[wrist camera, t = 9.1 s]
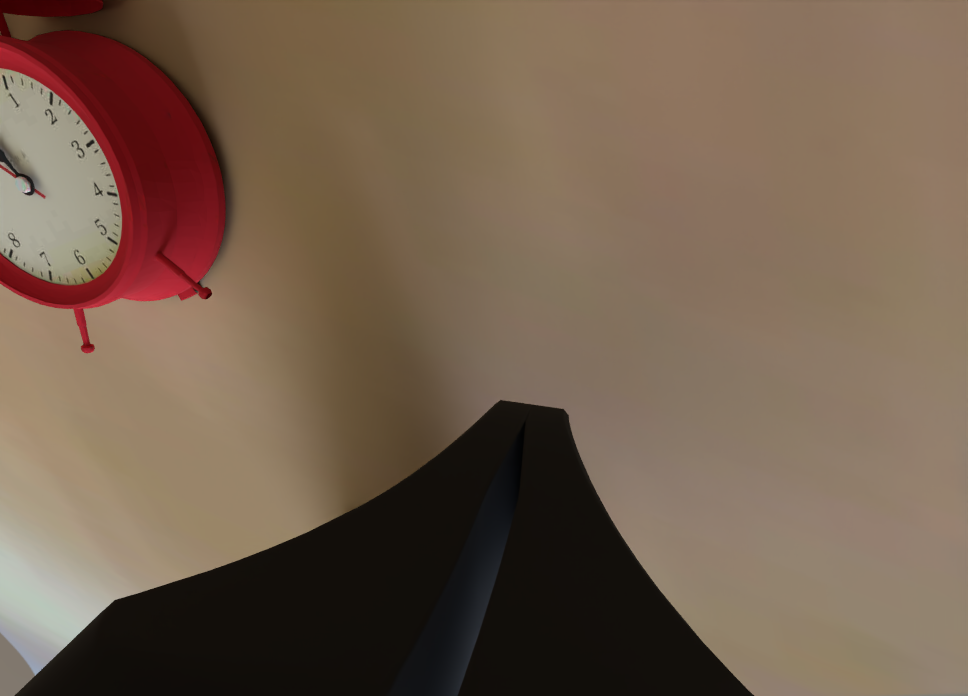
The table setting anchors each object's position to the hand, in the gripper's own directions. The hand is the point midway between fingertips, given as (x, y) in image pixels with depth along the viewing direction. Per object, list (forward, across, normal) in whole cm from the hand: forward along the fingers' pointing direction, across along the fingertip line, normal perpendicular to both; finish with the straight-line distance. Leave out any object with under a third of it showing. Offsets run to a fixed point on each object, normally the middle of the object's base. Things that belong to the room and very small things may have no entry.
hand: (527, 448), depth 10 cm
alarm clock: (+11, +20, -5) cm, 23 cm away
